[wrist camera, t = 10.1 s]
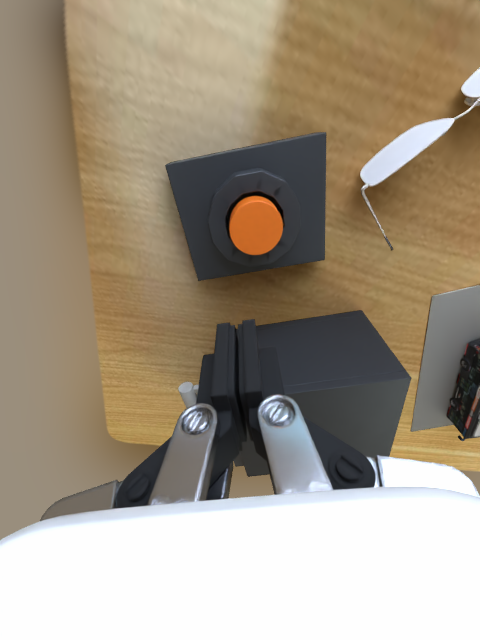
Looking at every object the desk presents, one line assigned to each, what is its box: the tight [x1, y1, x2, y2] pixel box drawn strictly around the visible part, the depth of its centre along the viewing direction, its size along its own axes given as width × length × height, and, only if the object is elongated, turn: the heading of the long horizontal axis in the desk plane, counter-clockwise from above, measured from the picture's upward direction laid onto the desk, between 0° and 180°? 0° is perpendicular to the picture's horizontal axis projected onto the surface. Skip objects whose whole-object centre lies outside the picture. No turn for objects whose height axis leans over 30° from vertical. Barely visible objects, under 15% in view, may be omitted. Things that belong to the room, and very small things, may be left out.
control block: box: [165, 132, 326, 281], centre depth 21 cm, size 11×9×4 cm
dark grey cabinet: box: [236, 310, 411, 477], centre depth 29 cm, size 15×13×10 cm
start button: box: [229, 196, 283, 255], centre depth 19 cm, size 4×4×2 cm
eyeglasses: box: [360, 68, 480, 250], centre depth 19 cm, size 14×8×4 cm, turn 132°
